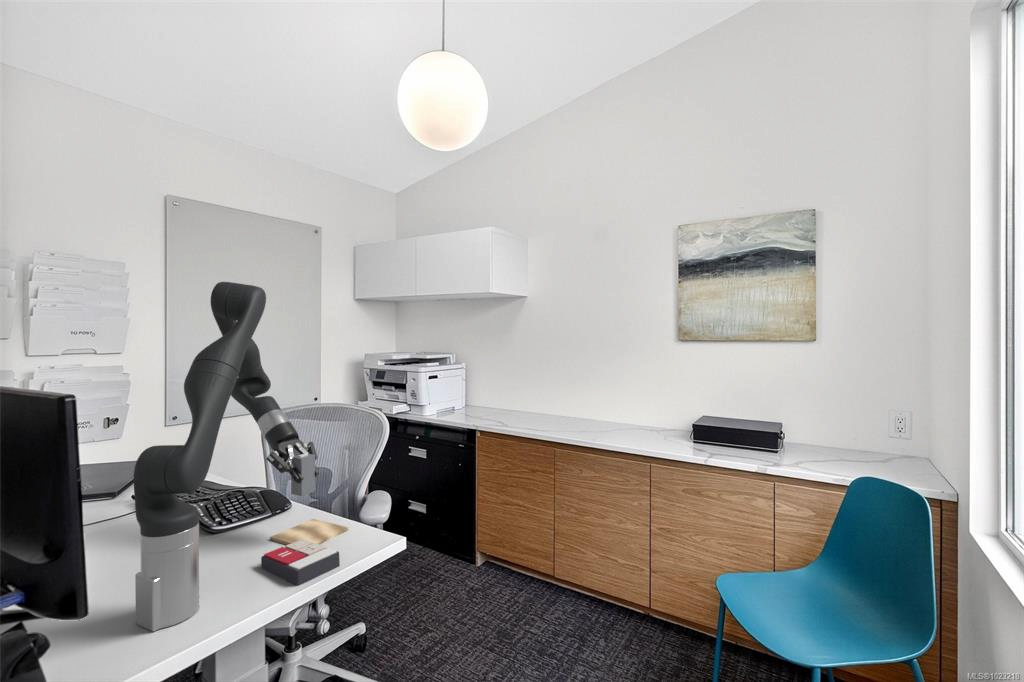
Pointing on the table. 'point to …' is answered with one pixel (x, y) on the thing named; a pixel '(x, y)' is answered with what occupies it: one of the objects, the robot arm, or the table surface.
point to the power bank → (304, 474)
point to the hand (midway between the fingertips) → (308, 478)
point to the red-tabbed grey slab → (300, 561)
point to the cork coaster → (310, 532)
